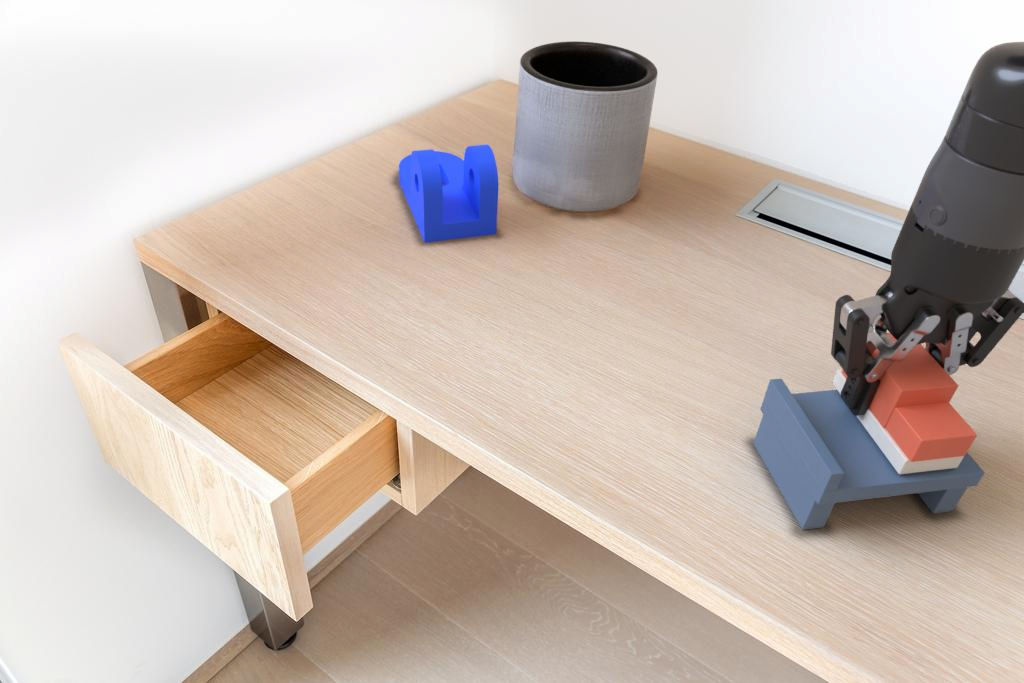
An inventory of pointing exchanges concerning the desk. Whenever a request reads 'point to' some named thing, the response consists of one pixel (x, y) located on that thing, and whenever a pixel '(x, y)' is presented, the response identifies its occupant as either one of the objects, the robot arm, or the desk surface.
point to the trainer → (915, 415)
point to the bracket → (451, 192)
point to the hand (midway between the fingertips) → (884, 404)
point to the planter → (582, 125)
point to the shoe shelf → (840, 458)
